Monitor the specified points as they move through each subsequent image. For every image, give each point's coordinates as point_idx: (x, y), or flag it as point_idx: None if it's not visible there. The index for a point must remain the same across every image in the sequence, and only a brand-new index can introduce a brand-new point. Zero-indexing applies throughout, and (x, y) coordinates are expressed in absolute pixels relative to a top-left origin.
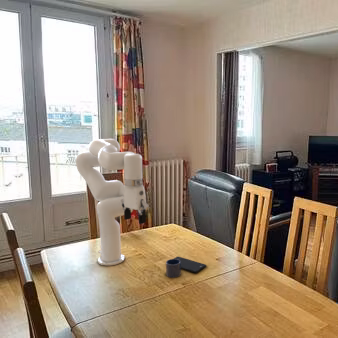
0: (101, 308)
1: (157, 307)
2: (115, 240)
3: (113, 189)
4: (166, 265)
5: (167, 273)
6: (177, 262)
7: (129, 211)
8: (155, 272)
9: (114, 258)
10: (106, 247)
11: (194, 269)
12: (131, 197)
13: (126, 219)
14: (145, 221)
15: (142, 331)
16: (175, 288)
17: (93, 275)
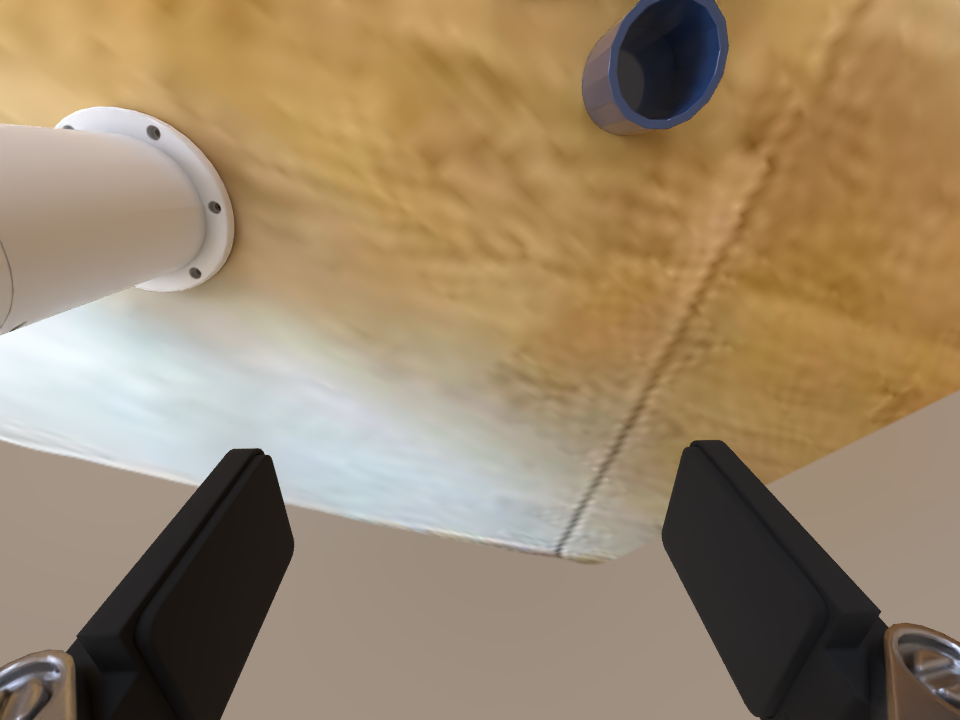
0: (553, 484)
1: (738, 373)
2: (84, 238)
3: None
4: (628, 124)
5: (621, 133)
6: (664, 5)
7: (186, 625)
8: (513, 142)
9: (193, 230)
10: (110, 292)
11: None
12: None
13: (285, 527)
14: (725, 448)
15: (764, 478)
16: (732, 213)
17: (282, 376)
